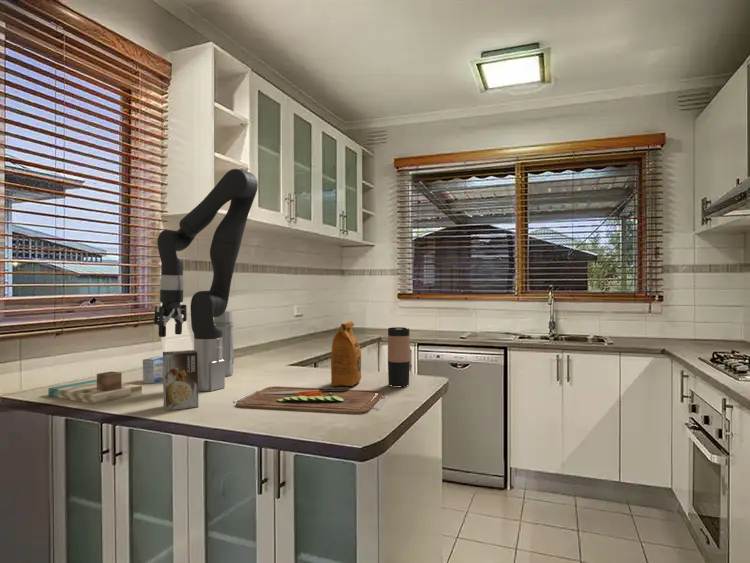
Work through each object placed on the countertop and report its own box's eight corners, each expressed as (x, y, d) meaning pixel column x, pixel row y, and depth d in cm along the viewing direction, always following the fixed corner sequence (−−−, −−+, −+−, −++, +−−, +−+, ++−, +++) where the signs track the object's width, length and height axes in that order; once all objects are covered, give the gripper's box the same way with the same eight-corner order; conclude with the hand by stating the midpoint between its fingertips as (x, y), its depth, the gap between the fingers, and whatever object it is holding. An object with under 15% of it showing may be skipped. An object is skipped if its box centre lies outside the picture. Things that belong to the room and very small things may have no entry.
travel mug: (384, 386, 177) (384, 328, 177) (392, 382, 184) (392, 326, 184) (405, 388, 174) (405, 329, 174) (412, 384, 181) (412, 327, 181)
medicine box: (153, 383, 183) (153, 359, 183) (142, 383, 184) (142, 359, 184) (166, 379, 191) (166, 356, 191) (156, 379, 192) (156, 355, 192)
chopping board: (223, 408, 149) (223, 398, 149) (262, 389, 175) (262, 380, 175) (374, 417, 140) (374, 405, 140) (392, 395, 166) (392, 386, 166)
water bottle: (209, 376, 197) (209, 311, 197) (225, 372, 204) (225, 310, 203) (224, 378, 192) (224, 311, 192) (241, 375, 198) (241, 310, 198)
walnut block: (121, 388, 163) (121, 372, 163) (106, 391, 158) (106, 375, 158) (111, 386, 165) (111, 371, 165) (96, 389, 161) (96, 373, 161)
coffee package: (365, 381, 185) (365, 321, 185) (353, 388, 173) (353, 324, 173) (340, 380, 188) (340, 320, 188) (326, 387, 176) (326, 323, 176)
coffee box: (195, 402, 154) (195, 349, 154) (198, 407, 149) (198, 352, 149) (162, 406, 150) (162, 351, 150) (164, 411, 144) (164, 354, 144)
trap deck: (141, 393, 166) (141, 386, 166) (94, 404, 152) (94, 395, 152) (96, 386, 178) (96, 379, 178) (48, 395, 164) (48, 387, 164)
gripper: (167, 289, 168) (166, 338, 168) (193, 288, 182) (192, 334, 182) (148, 288, 170) (147, 337, 170) (175, 287, 184) (174, 332, 184)
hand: (170, 335), depth 176 cm, fingers open, 8 cm apart
